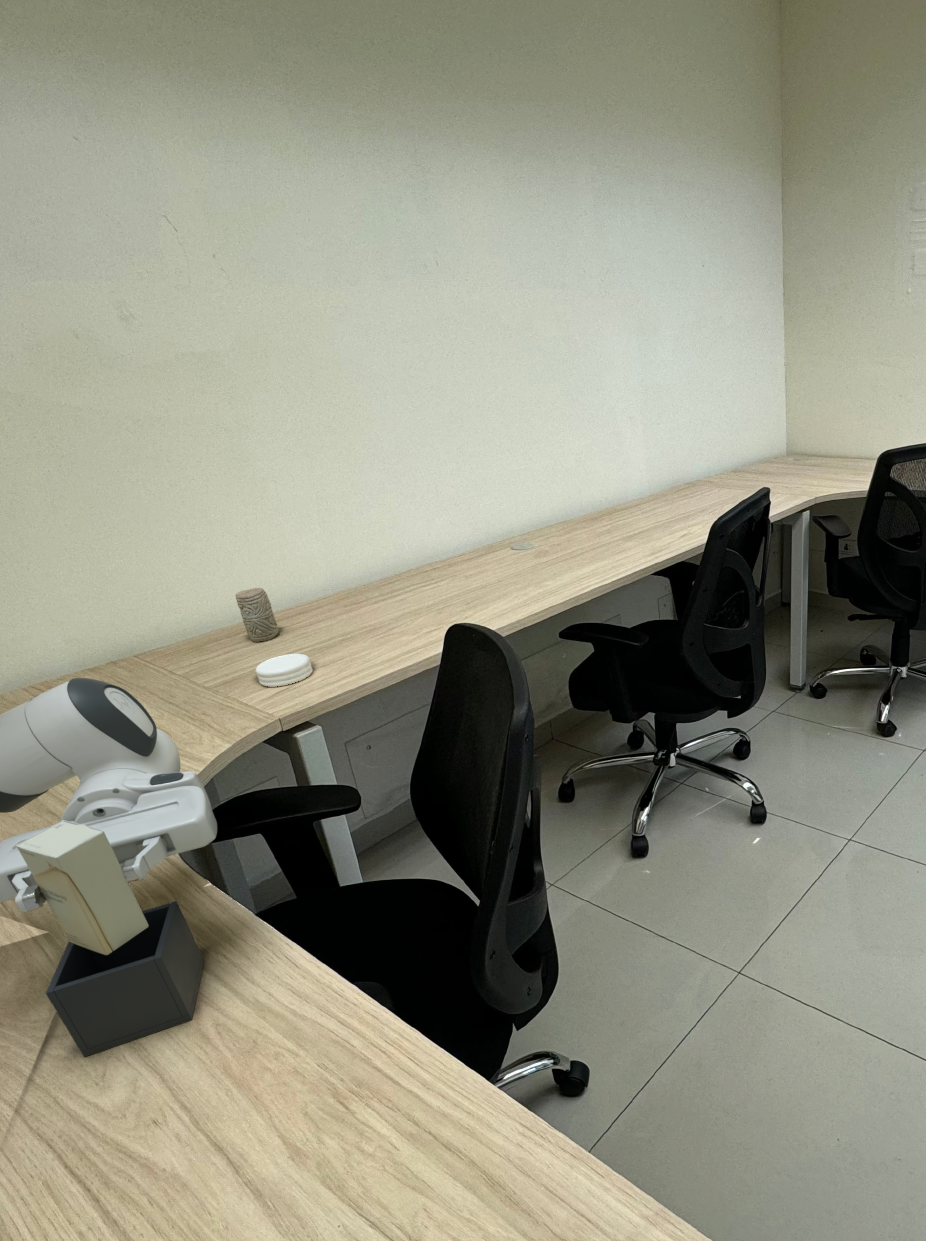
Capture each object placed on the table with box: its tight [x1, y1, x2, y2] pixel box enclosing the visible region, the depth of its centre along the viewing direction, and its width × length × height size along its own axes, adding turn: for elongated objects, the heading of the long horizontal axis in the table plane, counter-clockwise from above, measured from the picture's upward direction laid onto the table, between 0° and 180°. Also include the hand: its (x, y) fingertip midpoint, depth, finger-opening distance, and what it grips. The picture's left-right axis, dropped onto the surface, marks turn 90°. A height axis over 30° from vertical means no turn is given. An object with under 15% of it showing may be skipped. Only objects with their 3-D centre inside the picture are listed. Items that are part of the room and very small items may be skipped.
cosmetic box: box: [16, 820, 149, 955], centre depth 74 cm, size 6×4×12 cm
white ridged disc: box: [255, 653, 313, 688], centre depth 158 cm, size 10×10×4 cm
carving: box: [234, 587, 279, 643], centre depth 179 cm, size 6×8×12 cm
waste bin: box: [45, 900, 205, 1058], centre depth 79 cm, size 9×9×9 cm
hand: (82, 889), depth 73 cm, fingers closed on cosmetic box, 7 cm apart
